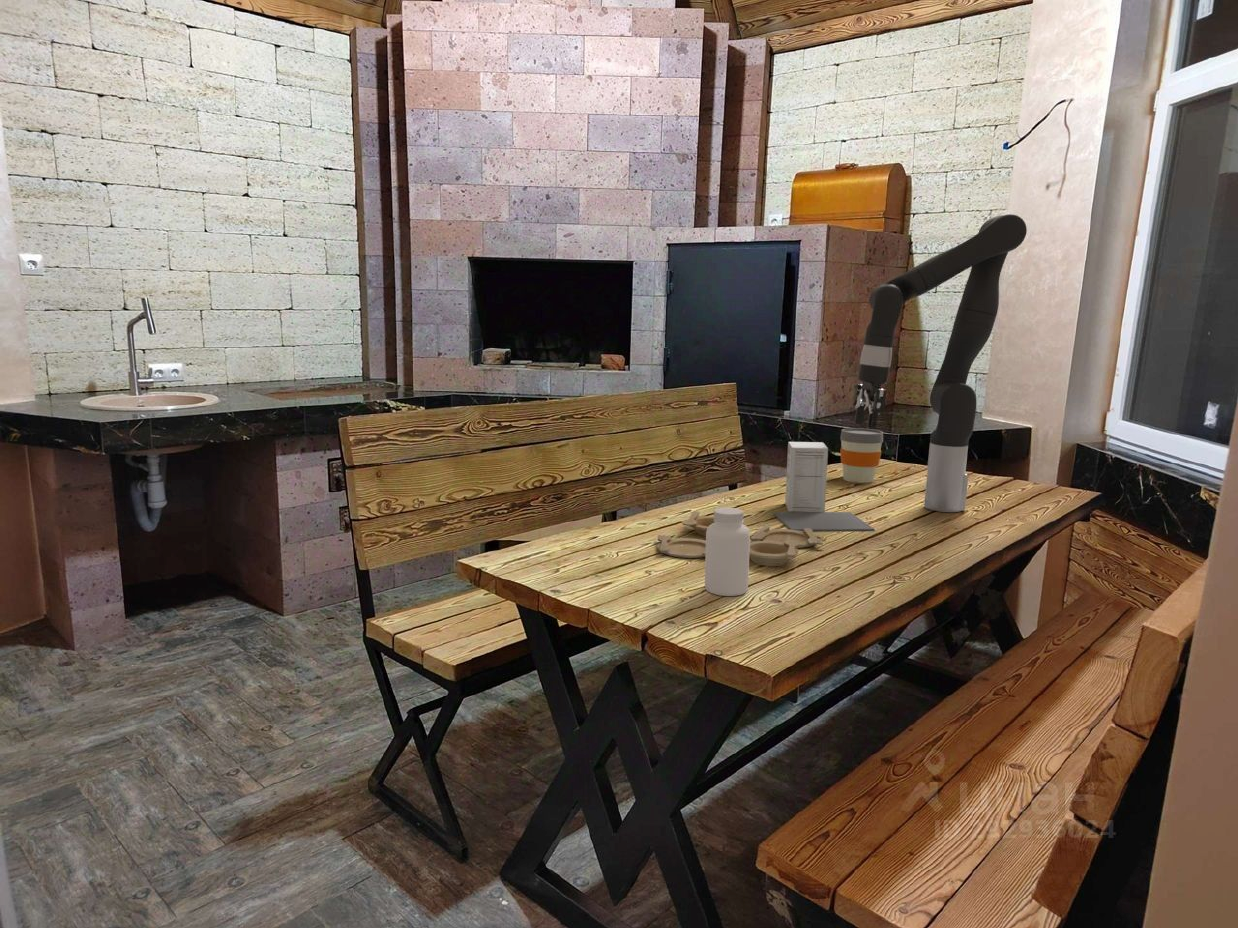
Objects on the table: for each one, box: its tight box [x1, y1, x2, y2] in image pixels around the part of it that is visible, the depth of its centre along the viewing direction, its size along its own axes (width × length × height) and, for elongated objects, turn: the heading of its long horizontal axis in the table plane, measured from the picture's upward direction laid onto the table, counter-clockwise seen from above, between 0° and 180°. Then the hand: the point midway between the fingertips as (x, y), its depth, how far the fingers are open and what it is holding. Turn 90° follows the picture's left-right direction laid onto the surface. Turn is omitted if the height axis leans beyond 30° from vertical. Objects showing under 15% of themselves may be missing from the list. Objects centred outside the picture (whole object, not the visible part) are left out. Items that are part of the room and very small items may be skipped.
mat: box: [772, 511, 876, 532], centre depth 199 cm, size 20×16×1 cm
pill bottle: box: [704, 507, 751, 597], centre depth 149 cm, size 8×8×15 cm
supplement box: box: [784, 441, 829, 512], centre depth 211 cm, size 10×9×17 cm
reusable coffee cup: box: [839, 427, 884, 484], centre depth 248 cm, size 13×13×15 cm
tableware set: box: [656, 510, 824, 567], centre depth 178 cm, size 35×29×4 cm
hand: (864, 426), depth 213 cm, fingers open, 8 cm apart
